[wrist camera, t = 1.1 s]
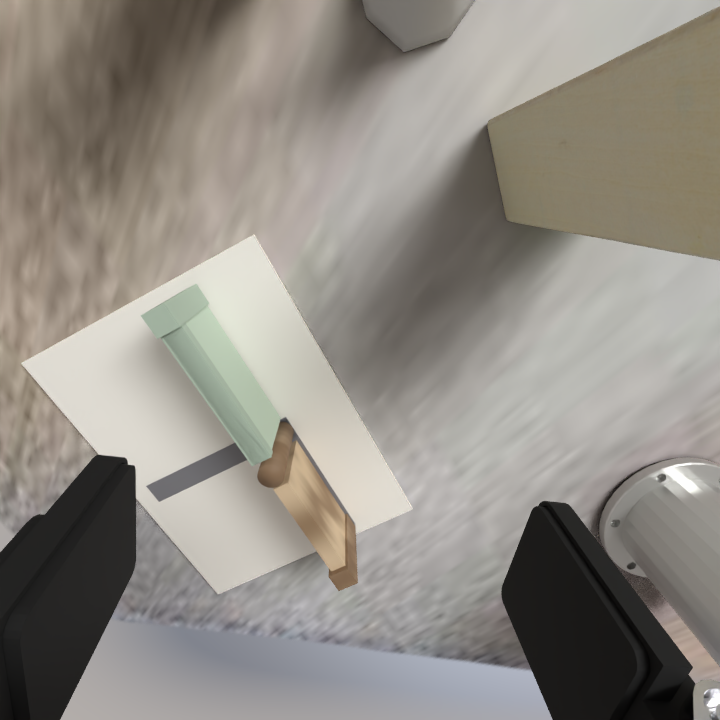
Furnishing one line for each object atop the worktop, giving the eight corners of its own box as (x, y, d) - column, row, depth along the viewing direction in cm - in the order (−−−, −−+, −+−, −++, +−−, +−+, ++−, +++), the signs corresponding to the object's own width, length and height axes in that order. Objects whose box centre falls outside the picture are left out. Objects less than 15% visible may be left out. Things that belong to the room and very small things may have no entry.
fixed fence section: (356, 525, 39) (358, 582, 33) (338, 533, 39) (337, 591, 33) (286, 417, 35) (275, 461, 29) (266, 427, 35) (252, 472, 29)
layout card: (412, 507, 39) (412, 509, 38) (218, 591, 41) (217, 595, 41) (254, 234, 30) (253, 234, 30) (23, 361, 33) (20, 363, 32)
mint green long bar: (283, 416, 35) (271, 459, 29) (265, 425, 35) (250, 469, 29) (196, 283, 31) (163, 302, 25) (177, 294, 31) (140, 315, 25)
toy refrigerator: (505, 234, 31) (789, 301, 11) (482, 122, 28) (794, -44, 9) (618, 196, 30) (1128, 195, 11) (604, 78, 28) (1238, -209, 8)
